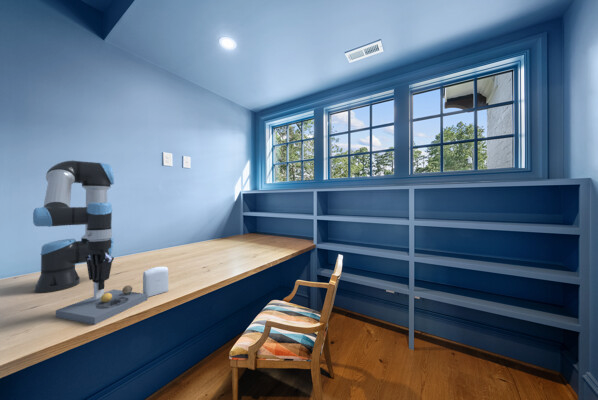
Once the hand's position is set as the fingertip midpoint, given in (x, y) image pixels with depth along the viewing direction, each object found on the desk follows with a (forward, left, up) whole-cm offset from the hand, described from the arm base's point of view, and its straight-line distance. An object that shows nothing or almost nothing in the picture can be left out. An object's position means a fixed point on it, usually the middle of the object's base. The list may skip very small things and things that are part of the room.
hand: (98, 297), depth 89 cm
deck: (+3, 0, -4) cm, 5 cm away
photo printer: (+11, +16, -4) cm, 20 cm away
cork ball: (+4, +8, 0) cm, 9 cm away
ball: (+4, 0, 0) cm, 4 cm away
